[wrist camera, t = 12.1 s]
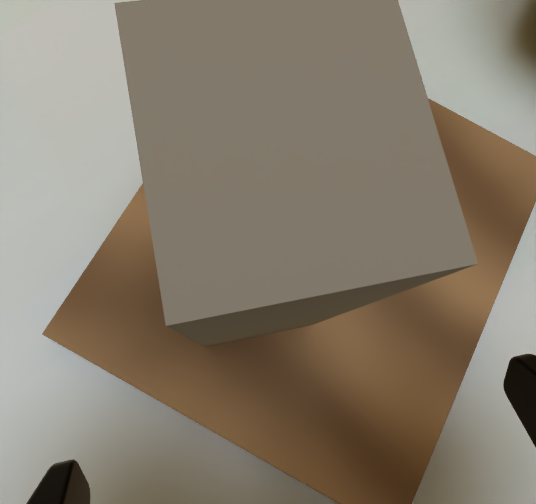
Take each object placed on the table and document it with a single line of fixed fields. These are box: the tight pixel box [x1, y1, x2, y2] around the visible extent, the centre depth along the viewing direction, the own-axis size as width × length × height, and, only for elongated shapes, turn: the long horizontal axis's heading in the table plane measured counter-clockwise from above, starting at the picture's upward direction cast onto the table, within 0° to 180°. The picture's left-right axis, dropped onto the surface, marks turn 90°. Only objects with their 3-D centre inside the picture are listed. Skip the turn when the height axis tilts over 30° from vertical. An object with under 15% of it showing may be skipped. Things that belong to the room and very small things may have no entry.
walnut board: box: [43, 99, 536, 504], centre depth 21 cm, size 18×16×1 cm
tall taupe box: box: [115, 0, 478, 347], centre depth 13 cm, size 4×5×13 cm
